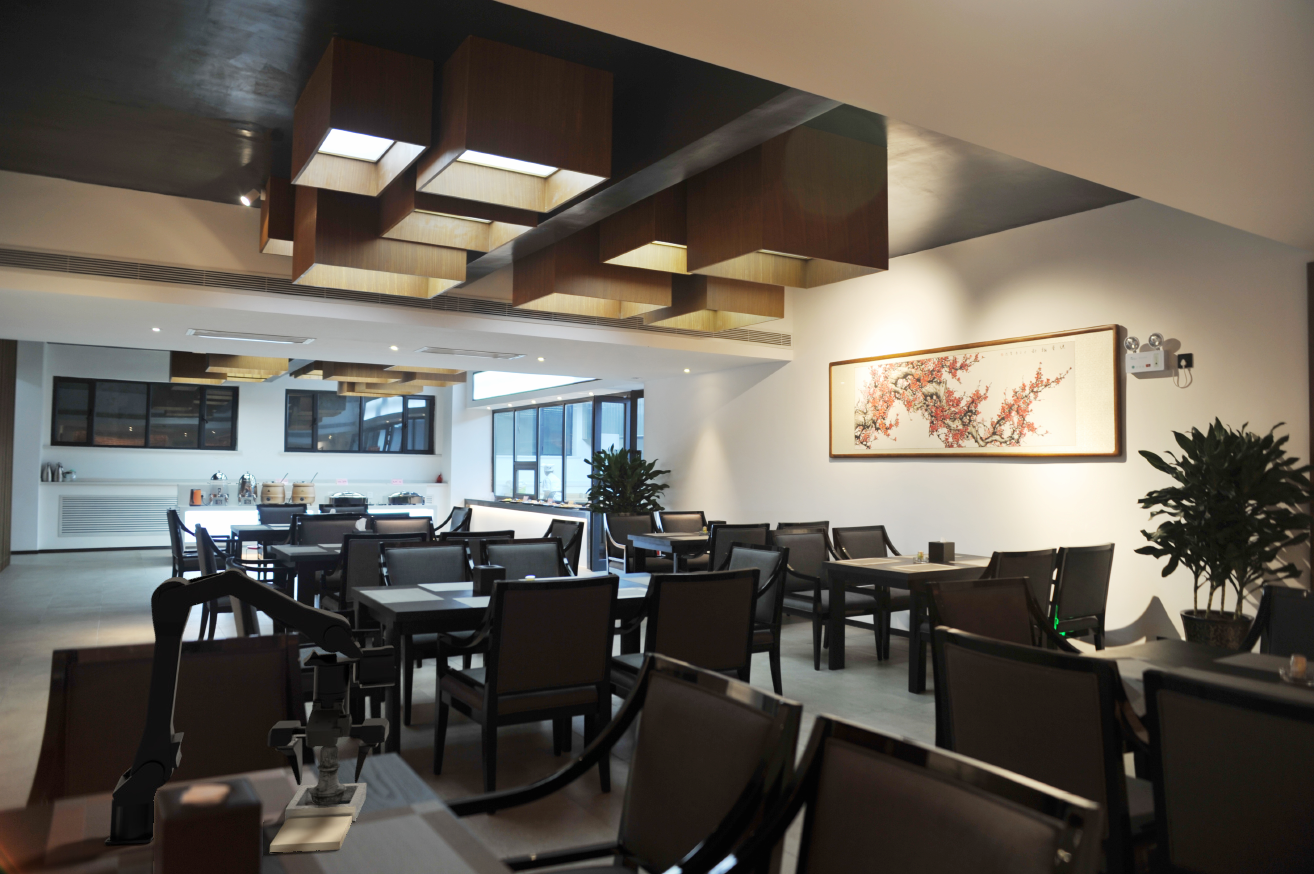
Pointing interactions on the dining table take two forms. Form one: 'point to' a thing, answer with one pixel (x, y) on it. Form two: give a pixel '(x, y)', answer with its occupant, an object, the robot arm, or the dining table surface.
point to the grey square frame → (352, 792)
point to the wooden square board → (311, 834)
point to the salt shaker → (328, 779)
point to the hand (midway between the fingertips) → (328, 783)
